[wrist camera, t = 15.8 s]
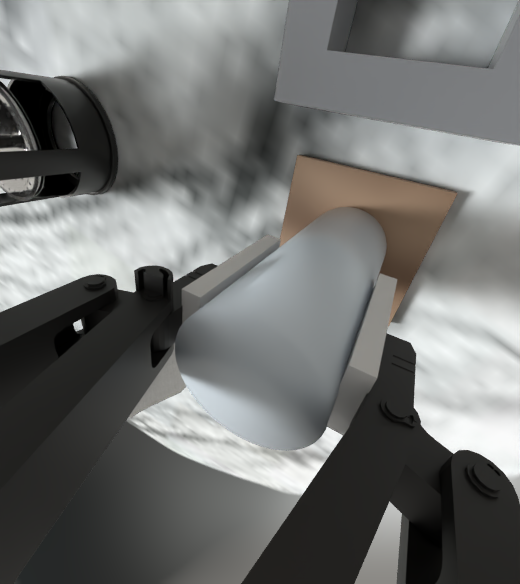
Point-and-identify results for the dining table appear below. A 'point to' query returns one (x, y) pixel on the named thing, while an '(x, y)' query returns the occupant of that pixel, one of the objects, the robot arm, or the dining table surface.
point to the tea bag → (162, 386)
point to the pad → (371, 211)
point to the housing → (396, 78)
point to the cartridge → (285, 332)
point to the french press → (52, 140)
